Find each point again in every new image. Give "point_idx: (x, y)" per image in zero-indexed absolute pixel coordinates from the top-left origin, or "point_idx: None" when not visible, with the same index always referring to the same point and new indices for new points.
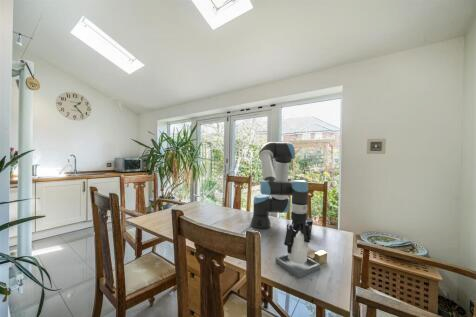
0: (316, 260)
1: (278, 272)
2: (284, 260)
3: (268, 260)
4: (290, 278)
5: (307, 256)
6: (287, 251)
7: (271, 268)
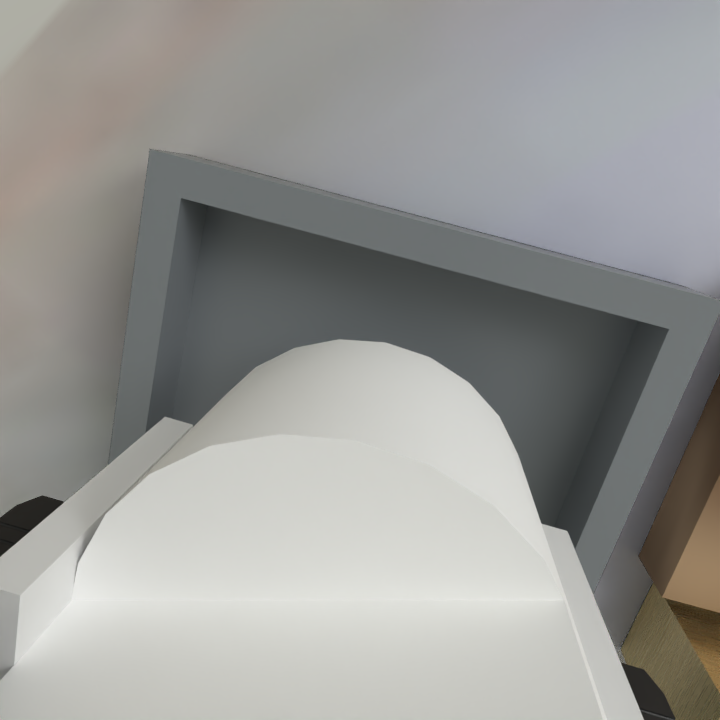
0: (657, 643)
1: (32, 336)
2: (326, 248)
3: (147, 19)
4: (62, 500)
5: (695, 502)
6: (16, 508)
7: (20, 210)
